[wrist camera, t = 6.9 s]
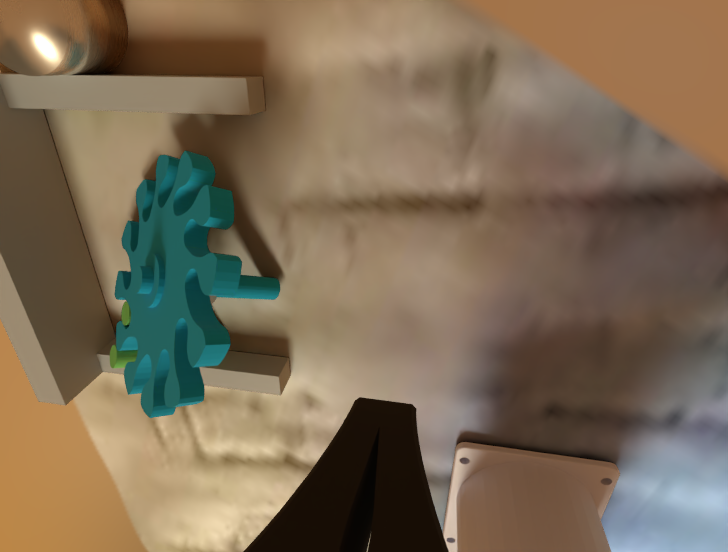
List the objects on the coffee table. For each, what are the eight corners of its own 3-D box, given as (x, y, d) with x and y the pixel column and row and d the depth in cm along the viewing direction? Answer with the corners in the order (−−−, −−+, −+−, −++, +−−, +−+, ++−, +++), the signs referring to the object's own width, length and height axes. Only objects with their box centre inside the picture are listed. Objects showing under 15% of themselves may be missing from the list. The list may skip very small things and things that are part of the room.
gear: (168, 85, 15) (222, 339, 11) (303, 138, 19) (381, 335, 15) (87, 260, 21) (100, 466, 17) (202, 271, 25) (236, 438, 21)
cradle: (290, 375, 22) (261, 434, 19) (98, 351, 24) (38, 401, 20) (262, 76, 16) (210, 81, 12) (-1, 72, 17) (-113, 75, 14)
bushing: (138, 74, 17) (80, 77, 14) (58, 73, 17) (-12, 75, 14) (115, -37, 15) (44, -59, 12) (27, -36, 15) (-59, -56, 13)
